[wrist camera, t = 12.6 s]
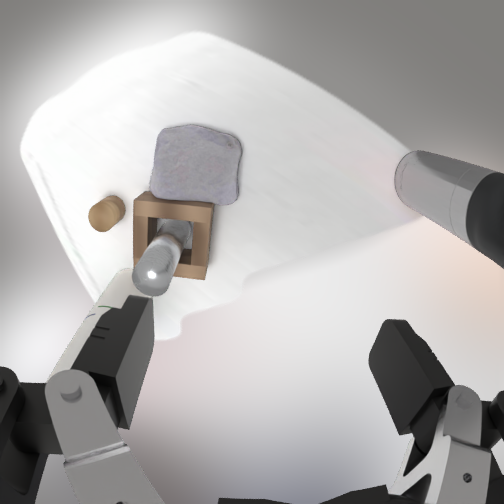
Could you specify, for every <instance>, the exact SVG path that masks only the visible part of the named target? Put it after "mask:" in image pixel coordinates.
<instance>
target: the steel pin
mask: <svg viewBox="0 0 504 504" xmlns="http://www.w3.org/2000/svg"><path fill="white" fill-rule="evenodd" d="M190 232H191V227H190V224H189V222H188V221H183V220H173V219H167V220H166V221H165V223H164V224H163V225H162V227H161V228H160V230H159V231H158V233H157V234H156V236H155V237H154V238H153V240H152V241H151V243H150V244H149V246H148V247H147V249H146V250H145V252H144V253H143V255H142V256H141V258H140V259H139V261H138V263H137V264H136V266H135V267H134V269H133V271H132V281H133V284H134V285H135V287H136V288H137V289H138V290H139V291H140V292H141V293H143V294H145V295H148V296H159V295H162V294H163V293H165V292H166V291H167V289H168V287H169V285H170V282H171V279H172V277H173V274H174V272H175V269H176V267H177V264H178V262H179V259H180V257H181V254H182V252H183V249H184V247H185V244H186V242H187V239H188V237H189V235H190Z"/></svg>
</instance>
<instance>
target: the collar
mask: <svg viewBox="0 0 504 504" xmlns="http://www.w3.org/2000/svg"><path fill="white" fill-rule="evenodd" d="M213 210H214V203H209V202H201V201H179V200H167V199H161V198H156V197H155V196H154V195H153V194H152V192H144V193H142V194H141V195H140V196H138V197H137V198H136V199H135V200H134V205H133V260H134V267H135V266H136V264H137V263H138V261H139V259H140V258H141V256H142V255H143V253H144V252H145V250H146V249H147V247H148V246H149V244H150V243H151V241H152V240H153V238H154V237H155V236H156V234H157V218H164V219H173V220H183V221H192V222H194V227H193V240H192V250H190V249H183V252H182V254H181V257H180V259H179V262H178V264H177V267H176V269H175V272H174V274H173V276H175V277H183V278H191V279H199V280H205V276H206V272H207V267H208V260H209V249H210V239H211V229H212V219H213Z"/></svg>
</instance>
